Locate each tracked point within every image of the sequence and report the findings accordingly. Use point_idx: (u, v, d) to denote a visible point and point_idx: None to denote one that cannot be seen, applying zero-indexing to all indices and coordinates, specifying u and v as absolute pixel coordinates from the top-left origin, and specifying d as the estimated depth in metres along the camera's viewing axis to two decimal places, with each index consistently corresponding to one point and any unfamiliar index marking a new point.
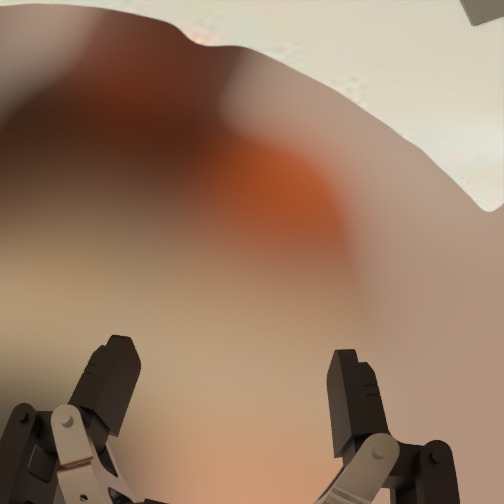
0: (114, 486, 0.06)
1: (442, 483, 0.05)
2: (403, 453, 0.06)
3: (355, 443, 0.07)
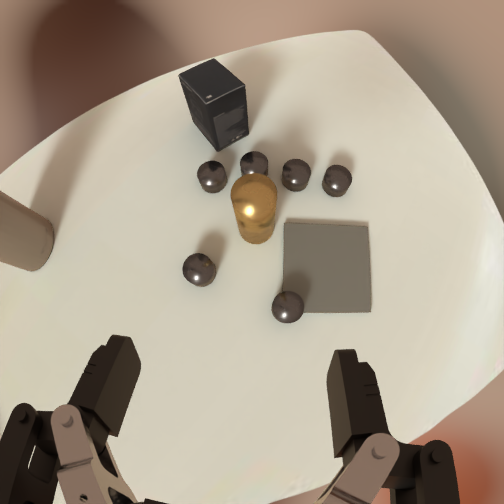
0: (114, 486, 0.06)
1: (442, 483, 0.05)
2: (403, 453, 0.06)
3: (355, 443, 0.07)
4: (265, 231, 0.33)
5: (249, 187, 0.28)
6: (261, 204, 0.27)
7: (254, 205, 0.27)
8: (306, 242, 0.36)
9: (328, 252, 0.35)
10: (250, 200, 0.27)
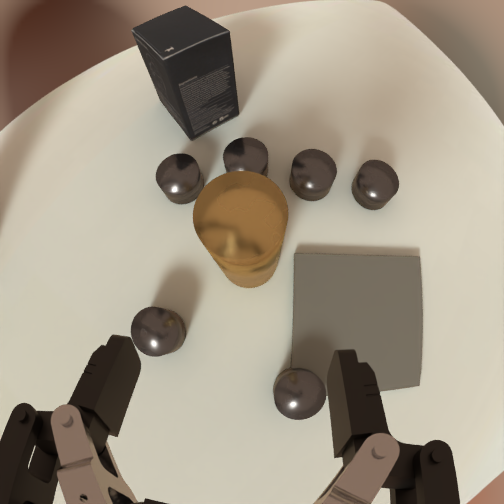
0: (114, 486, 0.06)
1: (442, 483, 0.05)
2: (403, 453, 0.06)
3: (355, 443, 0.07)
4: (264, 275, 0.19)
5: (231, 199, 0.14)
6: (255, 236, 0.13)
7: (241, 238, 0.13)
8: (330, 286, 0.22)
9: (364, 300, 0.21)
10: (233, 227, 0.13)
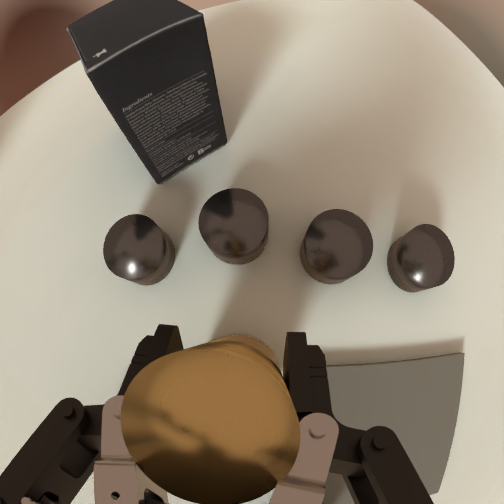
0: (151, 487, 0.06)
1: (395, 467, 0.05)
2: (346, 436, 0.07)
3: None
4: None
5: (185, 411, 0.06)
6: (236, 478, 0.05)
7: (210, 479, 0.05)
8: (350, 407, 0.14)
9: (390, 420, 0.14)
10: (195, 462, 0.06)
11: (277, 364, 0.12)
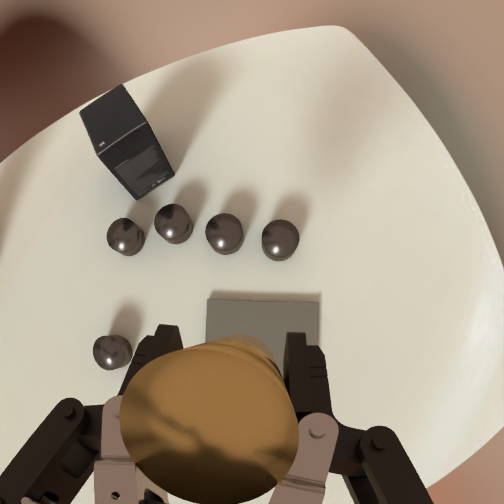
0: (151, 487, 0.06)
1: (395, 467, 0.06)
2: (346, 436, 0.07)
3: None
4: None
5: (184, 411, 0.06)
6: (235, 478, 0.05)
7: (208, 479, 0.05)
8: (234, 325, 0.28)
9: (262, 338, 0.28)
10: (193, 461, 0.06)
11: (277, 364, 0.12)
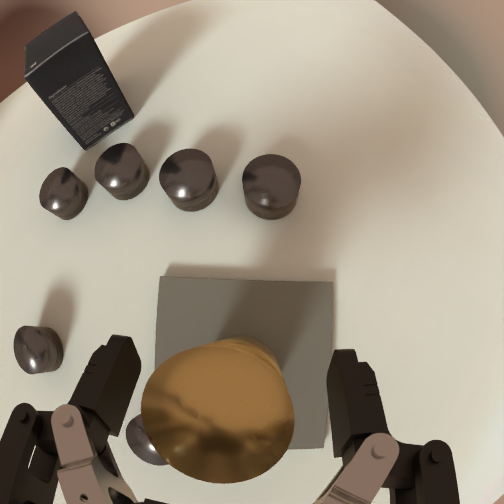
0: (114, 486, 0.06)
1: (442, 483, 0.05)
2: (403, 453, 0.06)
3: (355, 443, 0.07)
4: None
5: (198, 399, 0.07)
6: (240, 457, 0.07)
7: (217, 459, 0.07)
8: (199, 318, 0.18)
9: None
10: (205, 443, 0.07)
11: None
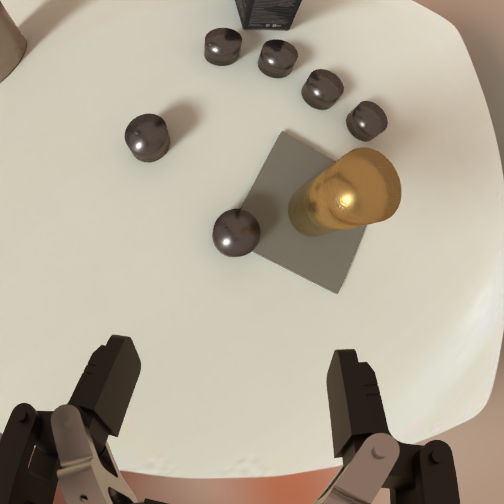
0: (114, 486, 0.06)
1: (442, 483, 0.05)
2: (403, 453, 0.06)
3: (355, 443, 0.07)
4: None
5: (368, 170, 0.15)
6: (376, 207, 0.15)
7: (366, 203, 0.15)
8: (298, 167, 0.25)
9: None
10: (364, 192, 0.15)
11: None
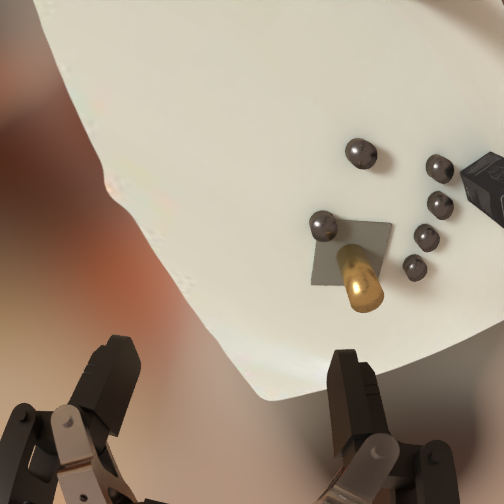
0: (114, 486, 0.06)
1: (442, 483, 0.05)
2: (403, 453, 0.06)
3: (355, 443, 0.07)
4: None
5: (373, 296, 0.33)
6: (357, 304, 0.34)
7: (357, 300, 0.34)
8: (372, 241, 0.40)
9: None
10: (362, 298, 0.33)
11: None
